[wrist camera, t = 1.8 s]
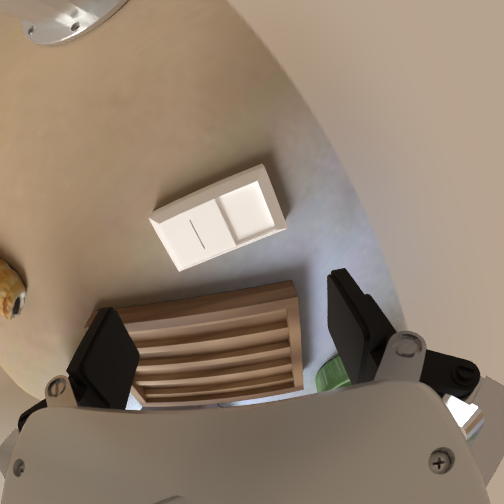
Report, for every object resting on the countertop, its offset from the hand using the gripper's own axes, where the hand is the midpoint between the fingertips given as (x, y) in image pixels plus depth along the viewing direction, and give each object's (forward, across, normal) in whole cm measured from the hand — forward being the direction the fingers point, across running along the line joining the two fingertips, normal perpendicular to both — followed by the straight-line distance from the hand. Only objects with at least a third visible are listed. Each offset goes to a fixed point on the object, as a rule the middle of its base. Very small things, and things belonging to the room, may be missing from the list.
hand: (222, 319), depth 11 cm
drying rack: (+11, +5, +13) cm, 18 cm away
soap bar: (+12, 0, -1) cm, 12 cm away
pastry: (+11, +28, 0) cm, 30 cm away
